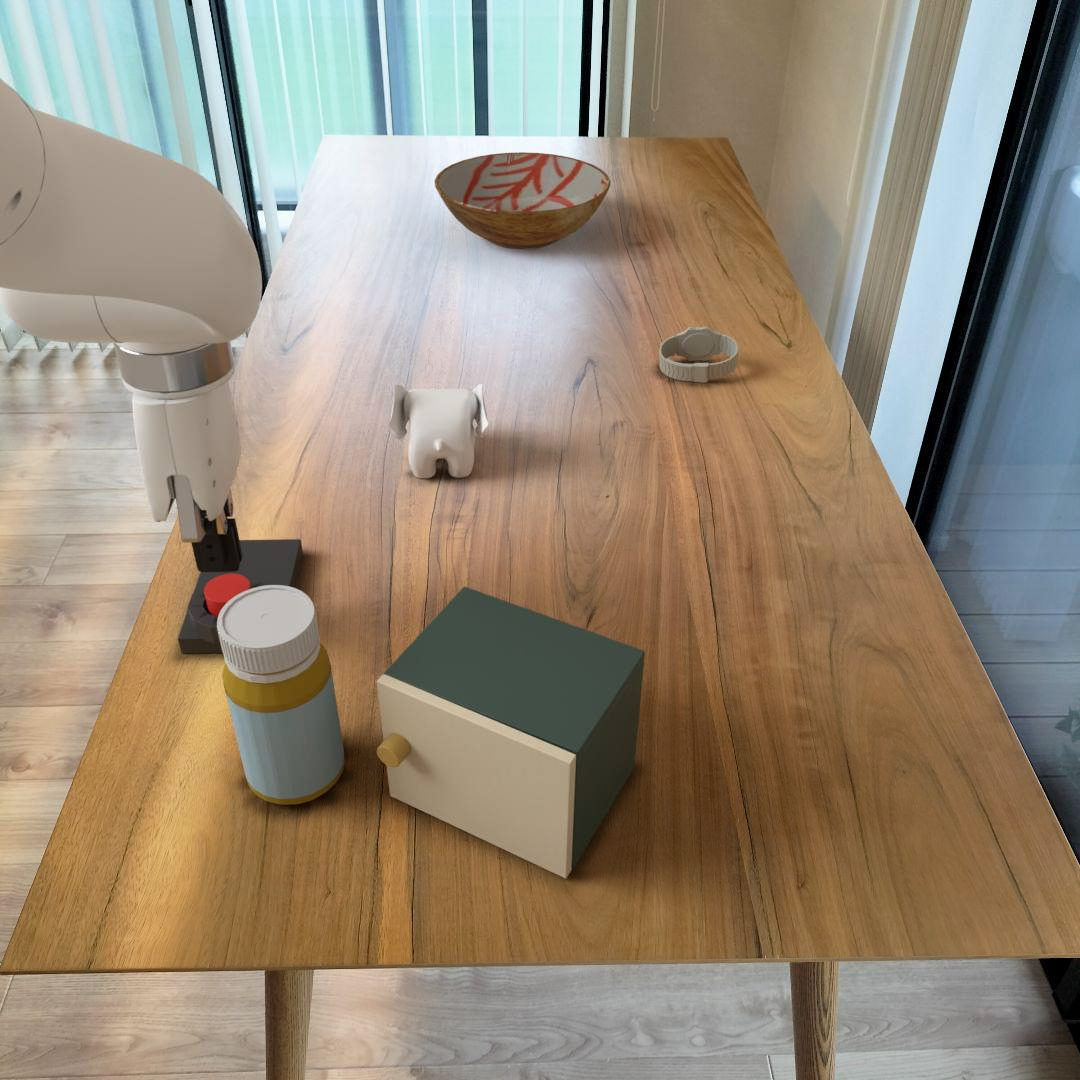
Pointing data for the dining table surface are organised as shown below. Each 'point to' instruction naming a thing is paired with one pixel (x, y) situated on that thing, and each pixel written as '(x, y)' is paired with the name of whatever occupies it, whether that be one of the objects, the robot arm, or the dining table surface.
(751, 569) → the dining table surface
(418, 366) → the dining table surface
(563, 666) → the cupboard
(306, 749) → the bottle
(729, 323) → the dining table surface
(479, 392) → the elephant figurine
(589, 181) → the bowl
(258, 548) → the switch
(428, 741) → the door
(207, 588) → the button
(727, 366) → the wristwatch
